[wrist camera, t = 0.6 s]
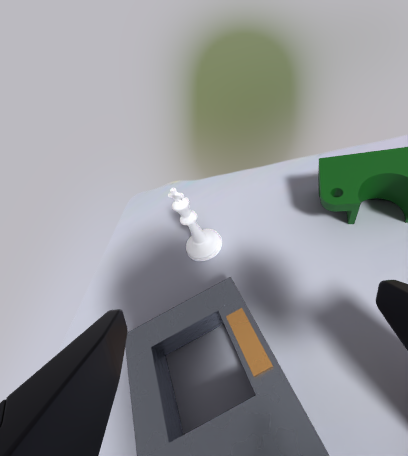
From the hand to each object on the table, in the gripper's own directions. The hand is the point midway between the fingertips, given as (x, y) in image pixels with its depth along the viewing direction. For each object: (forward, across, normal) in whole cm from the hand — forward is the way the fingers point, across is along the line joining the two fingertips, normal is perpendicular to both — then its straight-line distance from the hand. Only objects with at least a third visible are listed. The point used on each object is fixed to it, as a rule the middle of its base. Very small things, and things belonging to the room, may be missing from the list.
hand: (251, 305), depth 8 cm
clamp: (+18, -18, +4) cm, 26 cm away
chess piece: (+22, +1, +8) cm, 23 cm away
